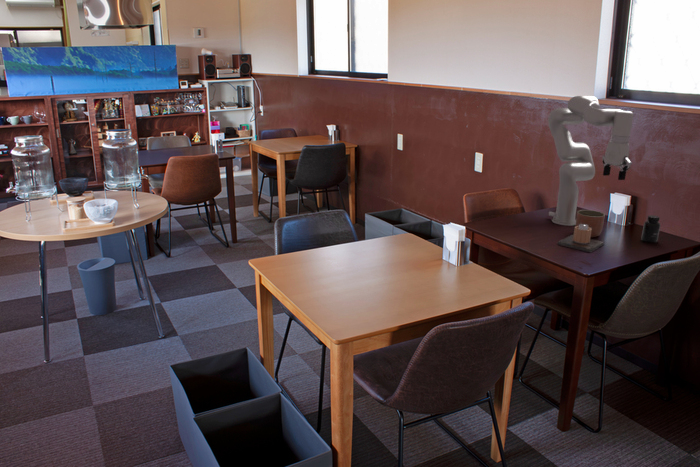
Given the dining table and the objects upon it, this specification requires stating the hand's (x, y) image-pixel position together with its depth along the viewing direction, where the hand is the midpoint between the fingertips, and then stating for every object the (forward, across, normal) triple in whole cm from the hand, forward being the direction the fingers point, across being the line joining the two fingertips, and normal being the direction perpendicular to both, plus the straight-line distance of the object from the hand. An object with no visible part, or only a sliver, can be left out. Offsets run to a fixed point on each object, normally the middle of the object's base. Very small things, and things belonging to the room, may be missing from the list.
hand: (613, 177), depth 246 cm
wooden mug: (+28, +2, -14) cm, 32 cm away
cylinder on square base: (+30, +2, -14) cm, 34 cm away
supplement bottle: (+31, +5, +21) cm, 38 cm away
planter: (+31, -10, -1) cm, 32 cm away
